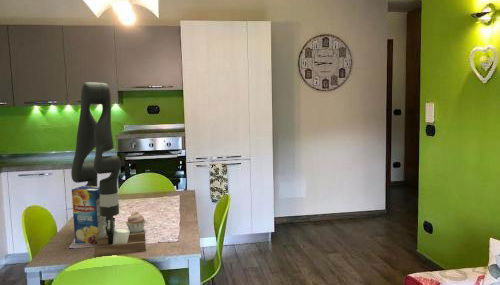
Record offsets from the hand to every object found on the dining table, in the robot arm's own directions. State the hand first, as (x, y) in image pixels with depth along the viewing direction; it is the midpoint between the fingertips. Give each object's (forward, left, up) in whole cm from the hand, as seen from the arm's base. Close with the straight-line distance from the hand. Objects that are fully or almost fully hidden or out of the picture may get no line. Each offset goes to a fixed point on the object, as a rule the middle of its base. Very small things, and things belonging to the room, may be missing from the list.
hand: (111, 243), depth 168 cm
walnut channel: (0, +4, -2) cm, 5 cm away
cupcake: (-20, +10, -2) cm, 22 cm away
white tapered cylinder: (0, +3, -2) cm, 4 cm away
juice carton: (-13, -9, -2) cm, 16 cm away
